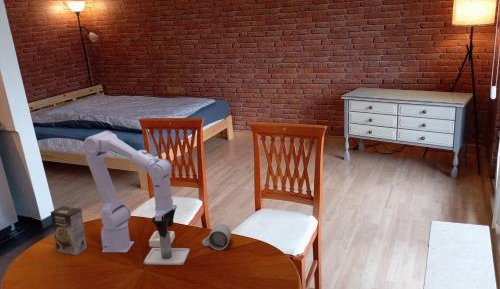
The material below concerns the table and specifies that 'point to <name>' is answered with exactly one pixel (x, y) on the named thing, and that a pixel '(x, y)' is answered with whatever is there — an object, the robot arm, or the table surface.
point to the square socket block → (155, 239)
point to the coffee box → (68, 230)
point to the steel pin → (165, 246)
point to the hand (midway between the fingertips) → (166, 230)
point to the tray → (176, 259)
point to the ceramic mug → (218, 237)
